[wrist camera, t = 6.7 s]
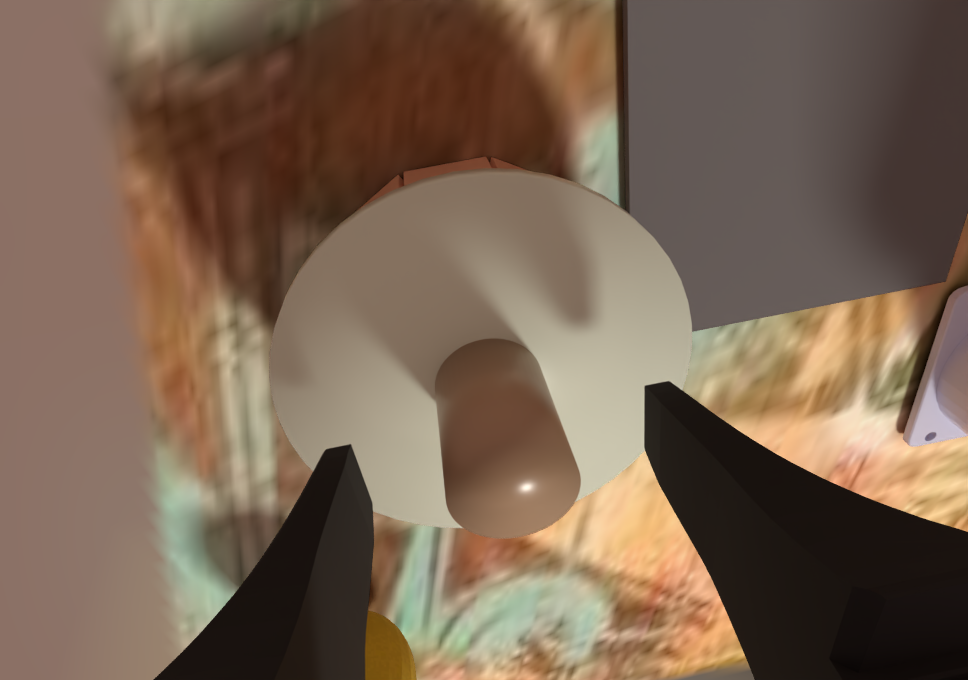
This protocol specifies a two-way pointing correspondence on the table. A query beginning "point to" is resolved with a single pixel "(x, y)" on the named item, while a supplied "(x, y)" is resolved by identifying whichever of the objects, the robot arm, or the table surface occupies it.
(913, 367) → the table surface
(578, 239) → the lid
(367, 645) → the lemon
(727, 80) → the mat
